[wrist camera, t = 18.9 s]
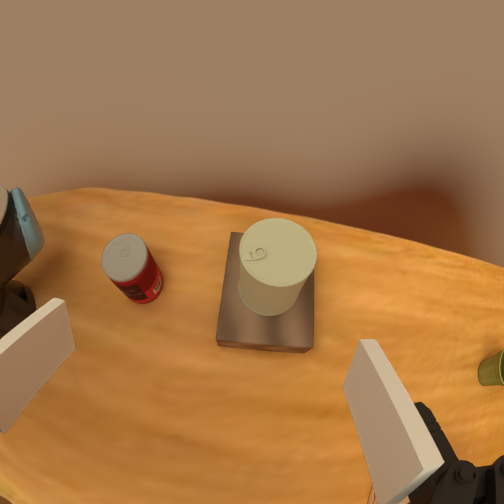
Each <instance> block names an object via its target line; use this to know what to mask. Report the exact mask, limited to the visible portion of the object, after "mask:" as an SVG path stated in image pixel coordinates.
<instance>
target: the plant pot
mask: <svg viewBox="0 0 504 504" xmlns="http://www.w3.org/2000/svg"><path fill="white" fill-rule="evenodd" d="M478 373H479V377H478V379H479V382H480V384H481V385H484V386H488V385H502V386H504V349H503V350H501V351H500V352H499V353H497V354H496V355H494V356H492V357H490V358H488V359H486V360H484V361H483V362H482V363H481V364H480V366H479V369H478Z"/></svg>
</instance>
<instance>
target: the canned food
mask: <svg viewBox="0 0 504 504" xmlns="http://www.w3.org/2000/svg"><path fill="white" fill-rule="evenodd" d="M102 268H103V270H104V272H105V274H106V275H107V276H108V277H109V278H110V280H111V281H112V282H113V283H114V284H115V285H116V286H117V287H118V288H119V289H120V290H121V291H122V292H123V293H124V294H125V295H126V296H127V297H128V298H129V299H130V300H132V301H134V302H136V303H148V302H150V301H152V300H154V299H155V298H156V297H157V296H158V294H159V293H160V291H161V288H162V274H161V272H160V270H159V268H158V266H157V264H156V263H155V261H154V259H153V257H152V255H151V253H150V251H149V249H148V248H147V246H146V244H145V242H144V241H143V240H142V239H141V238H140V237H139V236H137V235H135V234H131V233H126V234H121V235H119V236H116V237H115V238H113V239H112V240H111V241H110V242H109V243H108V244H107V246H106V247H105V249H104V251H103V254H102Z"/></svg>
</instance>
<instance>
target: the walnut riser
mask: <svg viewBox="0 0 504 504" xmlns="http://www.w3.org/2000/svg"><path fill="white" fill-rule="evenodd" d="M243 235H244V233H237V232H231V236H230V243H229V249H228V256H227V262H226V269H225V276H224V283H223V290H222V297H221V304H220V312H219V319H218V327H217V334H216V341H217V343H218V346H224V347H232V348H241V349H251V350H262V351H275V352H290V353H305V352H306V351H308V350H310V349H311V348H313V336H314V269H313V271H312V272H311V274H310V275H309V276H308V278H307V280H306V281H305V283H304V285H303V287H302V288H301V290H300V292H299V294H298V297H297V299H296V301H295V303H294V304H293V306H292V307H291V308H290V309H289V310H287V311H286V312H284V313H282V314H279V315H275V316H264V315H260V314H257V313H255V312H253V311H252V310H250V309H249V308H248V307H247V306H246V305H245V304H244V303H243V301H242V299H241V297H240V295H239V290H238V283H239V279H240V255H239V246H240V241H241V239H242V236H243Z"/></svg>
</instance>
